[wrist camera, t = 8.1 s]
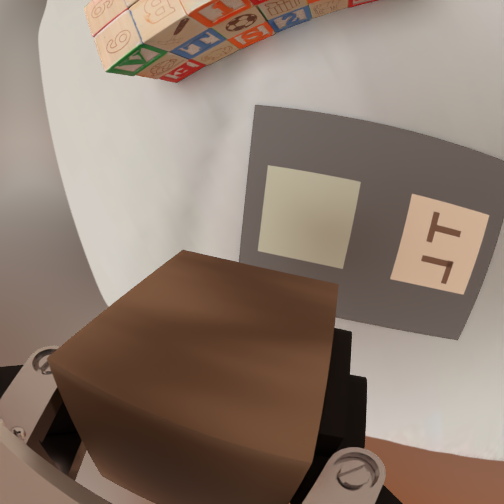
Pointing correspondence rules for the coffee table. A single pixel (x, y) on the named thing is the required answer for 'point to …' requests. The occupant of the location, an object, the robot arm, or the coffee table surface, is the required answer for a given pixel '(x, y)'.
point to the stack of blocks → (189, 31)
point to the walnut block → (203, 382)
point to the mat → (373, 216)
